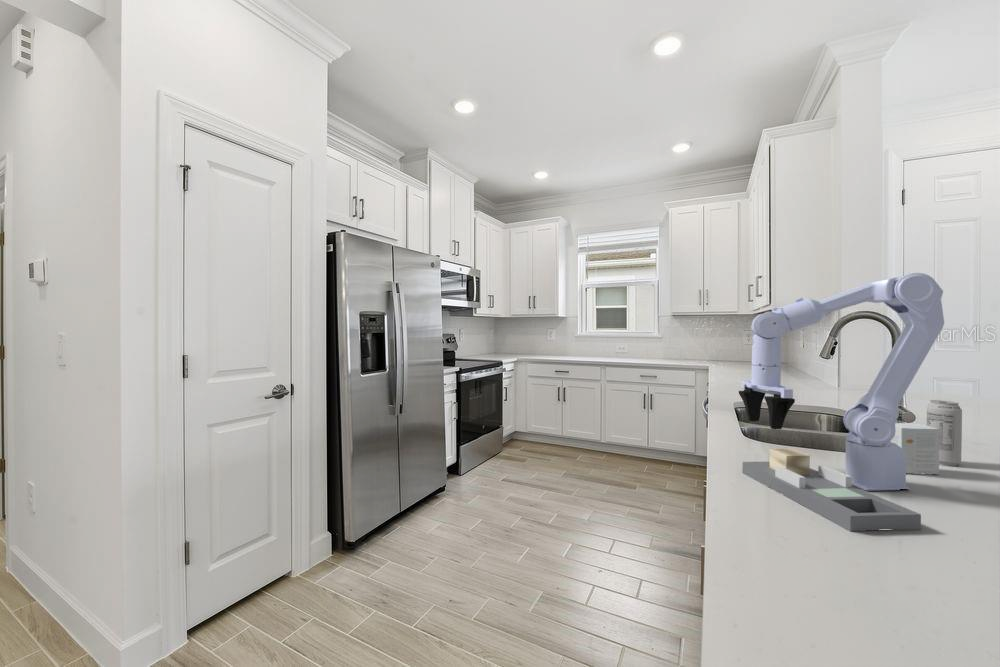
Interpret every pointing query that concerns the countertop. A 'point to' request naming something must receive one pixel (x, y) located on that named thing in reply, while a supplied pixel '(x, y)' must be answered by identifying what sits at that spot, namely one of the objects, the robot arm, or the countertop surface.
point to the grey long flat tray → (835, 498)
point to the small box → (918, 447)
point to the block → (790, 460)
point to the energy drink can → (947, 429)
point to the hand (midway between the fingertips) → (764, 424)
